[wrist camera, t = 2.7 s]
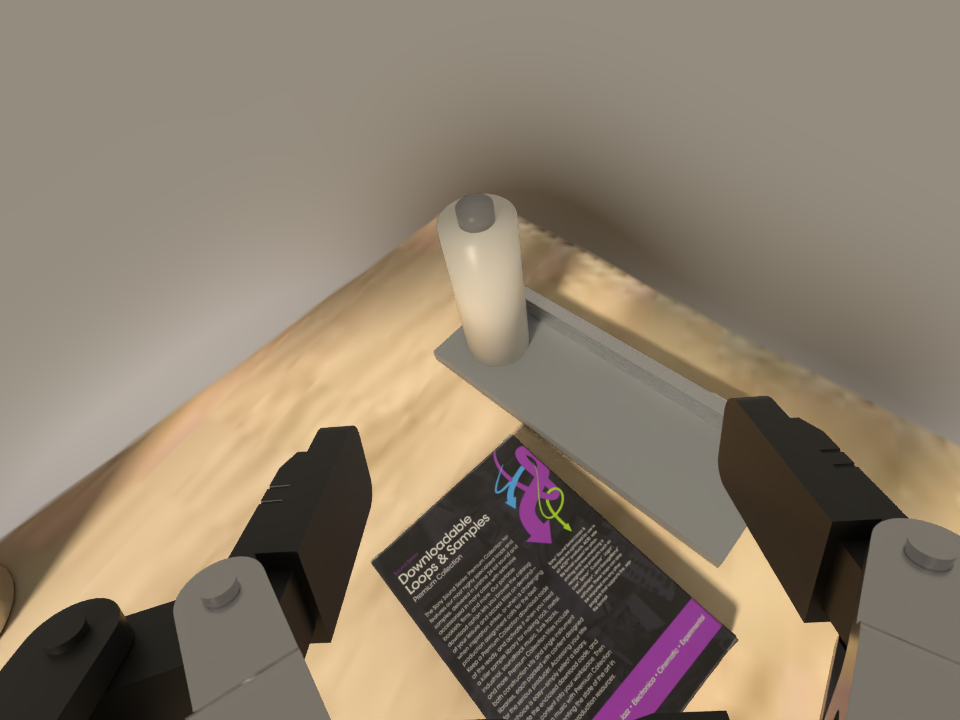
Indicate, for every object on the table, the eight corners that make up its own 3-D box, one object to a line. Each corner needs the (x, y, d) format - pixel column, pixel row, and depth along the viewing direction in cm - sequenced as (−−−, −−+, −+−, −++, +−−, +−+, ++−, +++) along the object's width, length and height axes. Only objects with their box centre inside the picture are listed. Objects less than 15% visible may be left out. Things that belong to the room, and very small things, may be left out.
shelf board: (436, 358, 48) (433, 351, 47) (506, 294, 52) (505, 285, 51) (717, 567, 35) (721, 563, 34) (788, 461, 38) (793, 455, 37)
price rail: (496, 294, 50) (493, 280, 48) (506, 285, 51) (503, 271, 49) (784, 469, 37) (794, 457, 35) (794, 454, 37) (804, 442, 36)
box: (725, 646, 33) (514, 447, 43) (742, 639, 30) (512, 427, 40) (577, 837, 29) (379, 568, 38) (580, 851, 26) (365, 556, 35)
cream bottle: (534, 361, 45) (522, 225, 33) (471, 372, 45) (435, 241, 33) (523, 312, 48) (509, 172, 36) (464, 322, 49) (430, 187, 36)
